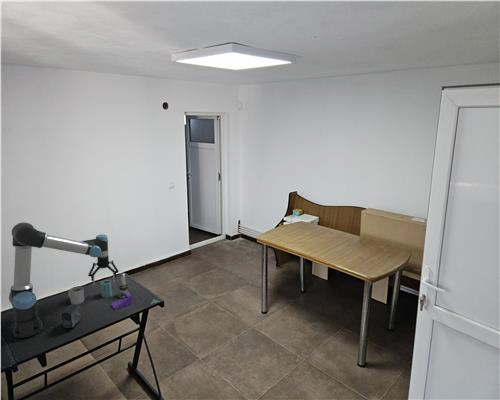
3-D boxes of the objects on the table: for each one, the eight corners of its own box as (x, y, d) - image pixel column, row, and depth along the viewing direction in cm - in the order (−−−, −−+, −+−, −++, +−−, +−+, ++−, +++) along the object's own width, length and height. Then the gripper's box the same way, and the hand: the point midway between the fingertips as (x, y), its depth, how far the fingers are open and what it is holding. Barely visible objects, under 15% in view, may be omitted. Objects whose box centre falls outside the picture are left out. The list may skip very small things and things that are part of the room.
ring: (119, 290, 246) (119, 288, 246) (119, 287, 251) (118, 285, 251) (128, 289, 249) (128, 286, 248) (127, 286, 254) (127, 283, 254)
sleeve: (101, 299, 246) (100, 285, 244) (101, 294, 253) (100, 281, 250) (112, 297, 249) (111, 283, 247) (112, 292, 256) (111, 279, 254)
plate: (118, 299, 246) (118, 297, 246) (118, 294, 253) (117, 293, 253) (130, 297, 249) (130, 295, 249) (129, 292, 256) (129, 291, 256)
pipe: (120, 296, 248) (119, 275, 245) (120, 293, 252) (119, 273, 249) (127, 295, 250) (126, 274, 247) (127, 292, 254) (125, 272, 251)
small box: (71, 318, 220) (70, 303, 218) (81, 319, 220) (80, 304, 218) (62, 327, 210) (60, 312, 208) (72, 328, 209) (71, 312, 207)
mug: (85, 302, 241) (84, 289, 239) (70, 306, 235) (69, 293, 234) (83, 296, 250) (81, 283, 248) (68, 300, 244) (67, 287, 242)
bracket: (128, 301, 244) (127, 292, 243) (131, 304, 239) (131, 295, 238) (111, 306, 237) (110, 297, 235) (114, 310, 232) (113, 301, 230)
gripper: (83, 259, 236) (85, 288, 240) (121, 255, 247) (122, 282, 251) (83, 256, 243) (85, 283, 247) (120, 252, 253) (121, 278, 257)
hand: (104, 283), depth 249 cm, fingers open, 13 cm apart
